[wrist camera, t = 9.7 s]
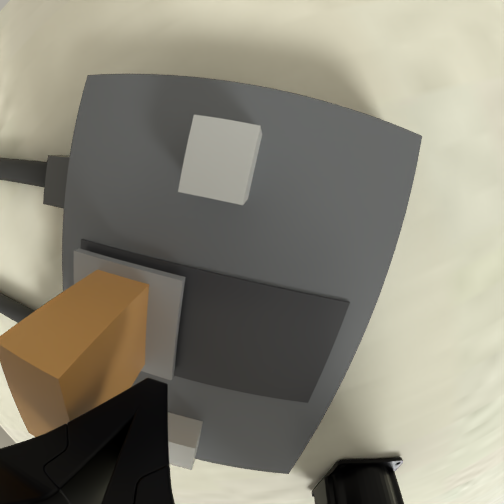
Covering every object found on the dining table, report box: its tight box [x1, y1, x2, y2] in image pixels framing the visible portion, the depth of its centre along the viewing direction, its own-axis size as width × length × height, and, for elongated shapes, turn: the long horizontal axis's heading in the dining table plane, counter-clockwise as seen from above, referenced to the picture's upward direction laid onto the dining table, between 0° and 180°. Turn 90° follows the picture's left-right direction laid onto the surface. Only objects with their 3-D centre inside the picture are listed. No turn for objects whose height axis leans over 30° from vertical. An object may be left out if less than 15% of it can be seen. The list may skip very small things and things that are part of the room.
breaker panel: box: [43, 74, 422, 474], centre depth 13 cm, size 16×20×5 cm
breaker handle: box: [0, 248, 186, 437], centre depth 9 cm, size 5×5×6 cm
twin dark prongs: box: [0, 158, 47, 323], centre depth 14 cm, size 15×11×1 cm
